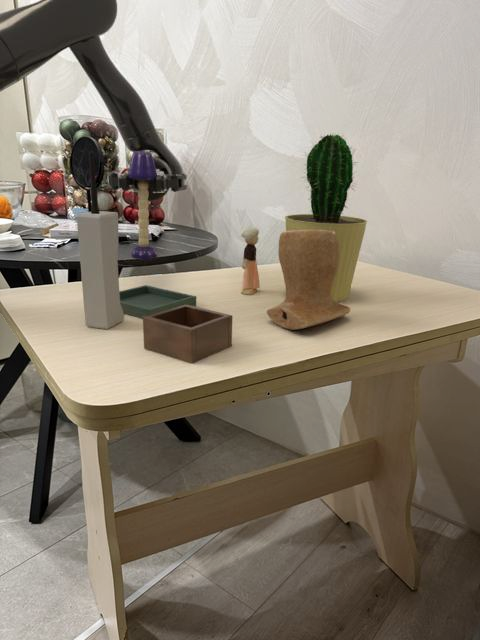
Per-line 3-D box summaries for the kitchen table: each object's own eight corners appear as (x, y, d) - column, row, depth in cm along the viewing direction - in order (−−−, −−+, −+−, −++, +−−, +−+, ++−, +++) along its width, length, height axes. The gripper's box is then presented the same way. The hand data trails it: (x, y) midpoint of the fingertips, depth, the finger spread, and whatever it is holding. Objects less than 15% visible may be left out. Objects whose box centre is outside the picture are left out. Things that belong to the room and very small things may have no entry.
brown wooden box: (143, 348, 71) (142, 317, 70) (185, 333, 78) (185, 304, 76) (191, 363, 67) (191, 330, 65) (232, 345, 74) (232, 315, 72)
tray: (97, 306, 89) (97, 296, 89) (146, 294, 98) (145, 284, 98) (149, 320, 83) (149, 309, 82) (196, 306, 92) (196, 296, 91)
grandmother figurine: (258, 296, 100) (261, 229, 96) (238, 295, 100) (240, 228, 96) (259, 287, 107) (262, 224, 103) (241, 286, 107) (242, 223, 103)
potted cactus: (325, 282, 113) (337, 133, 103) (375, 299, 101) (395, 132, 90) (265, 289, 105) (272, 128, 95) (312, 309, 93) (326, 127, 83)
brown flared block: (302, 304, 96) (308, 221, 90) (358, 318, 88) (368, 229, 83) (246, 321, 85) (249, 227, 80) (305, 338, 78) (312, 236, 72)
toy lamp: (161, 255, 90) (158, 152, 84) (158, 260, 86) (154, 152, 80) (133, 254, 90) (128, 151, 84) (129, 259, 85) (123, 151, 79)
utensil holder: (124, 320, 82) (115, 152, 74) (107, 330, 78) (95, 151, 69) (103, 318, 83) (91, 151, 74) (85, 327, 79) (70, 150, 70)
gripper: (110, 155, 94) (92, 156, 79) (189, 158, 96) (187, 160, 80) (113, 198, 97) (96, 207, 81) (190, 200, 99) (188, 210, 83)
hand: (141, 184), depth 81 cm, fingers closed on toy lamp, 4 cm apart
